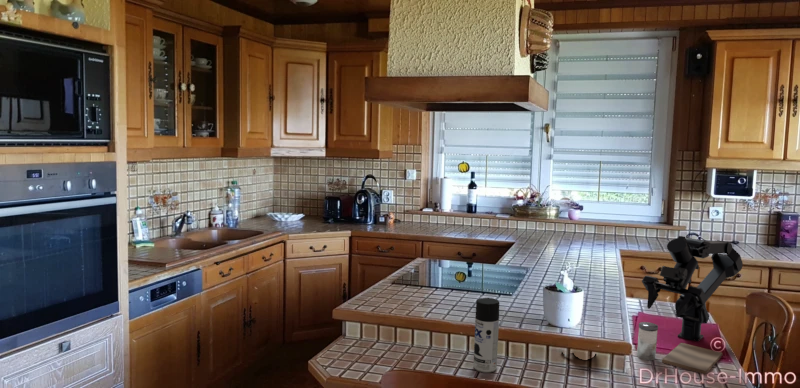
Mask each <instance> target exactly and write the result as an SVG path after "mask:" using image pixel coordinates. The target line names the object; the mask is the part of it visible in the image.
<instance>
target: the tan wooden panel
mask: <svg viewBox="0 0 800 388" xmlns="http://www.w3.org/2000/svg"><path fill="white" fill-rule="evenodd" d="M721 356H722V357H723V352H721V351H717V350H716V351H715V350H712V349H709V348H704V347H700V346H696V345H693V344H688V343H684V342H680V343H679V344H678V345H676V347H674V348H673V349H672V350H671V351H670V352H669V353H667V354H666V355H665V356H664V357H663V358H662V359H661V363H663V364H667V365H669V366H670V365H671V366H674V367H677V368H681V369H684V370H689V371H692V372H696V373H699V374H703V375H706V374H708V372H709V371H710V370H711V369H712V368H713V367H714V366H715V364H717V363H718V361H719V360H720V359H721V358H722V357H721Z"/></svg>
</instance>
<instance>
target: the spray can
mask: <svg viewBox="0 0 800 388" xmlns="http://www.w3.org/2000/svg"><path fill="white" fill-rule="evenodd" d="M474 316H475V319H474V341H473V342H474V345H473V347H474V348H473V365H472V366H473V368H474V370H475V371H477V372H480V373H484V374H489V373H494V372H496V370H497V367H498V350H499V348H498V347H499V344H498V343H499V327H500V325H499V324H500V301H499V300H498V299H496V298H492V297H482V298H478V299H476V303H475V315H474Z"/></svg>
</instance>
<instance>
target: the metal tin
mask: <svg viewBox="0 0 800 388" xmlns="http://www.w3.org/2000/svg"><path fill="white" fill-rule="evenodd" d="M658 330H659V325H658V324H656V323H654V322H649V321H641V322H639V323H638V334H637V336H638V337H637V349H636V350H637V351H636V356H637V358H639V359H640V360H644V361H654V360H656V352H657V343H658V342H657V341H658Z"/></svg>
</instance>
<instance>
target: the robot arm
mask: <svg viewBox="0 0 800 388" xmlns="http://www.w3.org/2000/svg"><path fill="white" fill-rule="evenodd" d="M733 247H734V246H733V244H732V242H729V241H724V240H719V239H717V240H703V239H697V238H691V237H686V236H682V235H678V237H677V238H674V239H671V240H670V241H668V243H667V245H666V249H667V251H668V252H669V255H670V257H671V258H672V259H673V262H675V264H674V267H673V266H672V267H671V266H665V265H662V267H661V270H660V272H659V276H660V277H663V278H662V280H663V282H664V283H662V282H660V280H659V279H658V277H655V276H651V275H644V276H643V278H642V280H641V283H642V284H643V286H644V288H645V290H646V291H647V305H646V307H647V309H649V310H650V308H652V307H653V304H654V303H655V302H656V300H657V299H658V297H659V293H660V292H661V291H667V292H670V293H674V294H677V295H678V294H679V298H678V299H677V300H676V301H675V304H674V307H675V308H674V309H675V316H676V317H677V318H681V319H682V321H681V332H680V333H679V334H677V337H678V338H681V339H686V340H689V341H693V342H696V343H697V342H700V340H702V339H703V338H704V334H701V332H702V325H703V324H708V322H709V320H710V314H709V312H708V310H707V305H706V304H707V301H709V299H710V298H711V297H712V295H713V294H714V293H715V292H716V291H717V289H719V287H720V286H721V285H722V284H723V282H724V281H725V280H726V279H730V278H732V277H735V276H736V275H737V274H739V272H741V271H742V268H743V260H742V257H741V254H740V253H739V252H737V250H736V249H735V248H733ZM710 255H711V257H710ZM708 257H710V258H711V261H712V266H713V267H712V269H711V270H710V271H709V272H708V273H707V274H706V276H705V277H704V278H703V279H702V280H701V282H700V283H699V284H698V285H697V286H694V285H693V286H692V285H690V286H688V285H689V284H691V283H692V276H693V274H694V272H695V271H696V270H699V269H700V266H699V261H698V260H697V258H699V259H705V258H708ZM687 286H688V288H687ZM686 288H687V289H686Z"/></svg>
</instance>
